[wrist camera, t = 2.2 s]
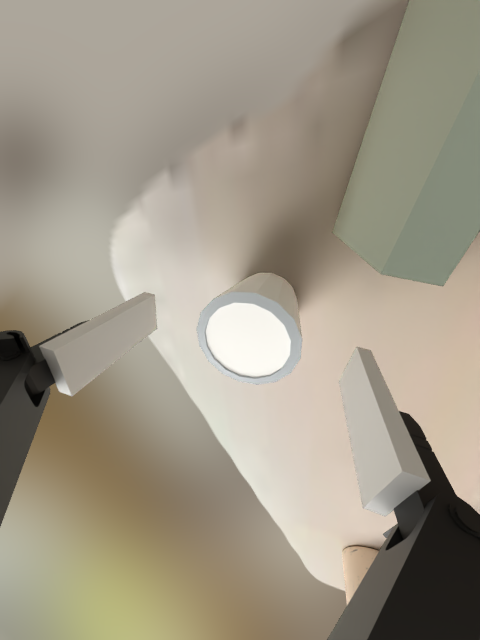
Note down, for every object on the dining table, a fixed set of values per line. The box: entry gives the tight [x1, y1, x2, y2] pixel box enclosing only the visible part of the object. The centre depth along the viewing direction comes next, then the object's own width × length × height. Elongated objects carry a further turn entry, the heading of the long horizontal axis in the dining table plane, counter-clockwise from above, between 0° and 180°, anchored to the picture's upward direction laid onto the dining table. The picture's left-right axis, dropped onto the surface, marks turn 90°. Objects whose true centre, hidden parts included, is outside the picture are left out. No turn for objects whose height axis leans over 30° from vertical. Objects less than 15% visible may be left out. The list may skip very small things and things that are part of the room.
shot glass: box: [197, 273, 302, 385], centre depth 16 cm, size 7×7×7 cm
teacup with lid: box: [342, 546, 379, 605], centre depth 28 cm, size 12×9×12 cm
